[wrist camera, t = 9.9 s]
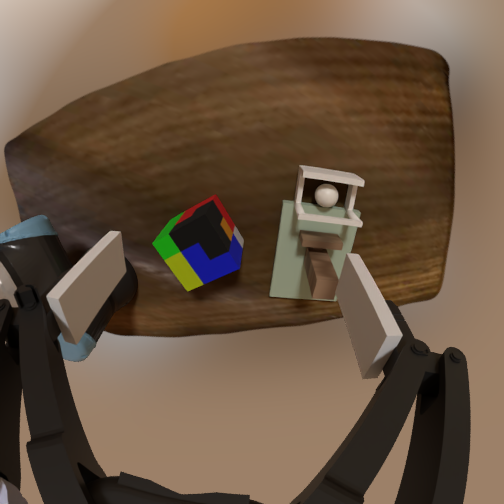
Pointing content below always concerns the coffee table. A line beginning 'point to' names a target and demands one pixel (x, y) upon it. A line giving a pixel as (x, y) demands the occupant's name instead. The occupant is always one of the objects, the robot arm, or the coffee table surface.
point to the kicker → (320, 262)
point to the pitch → (312, 219)
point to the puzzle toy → (201, 244)
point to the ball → (326, 195)
